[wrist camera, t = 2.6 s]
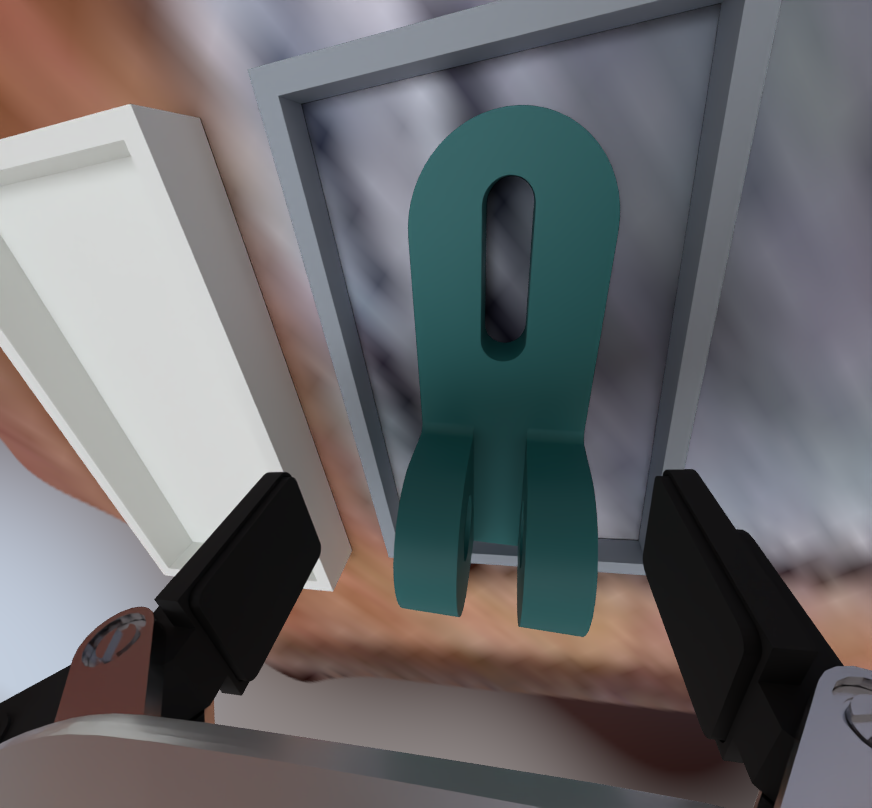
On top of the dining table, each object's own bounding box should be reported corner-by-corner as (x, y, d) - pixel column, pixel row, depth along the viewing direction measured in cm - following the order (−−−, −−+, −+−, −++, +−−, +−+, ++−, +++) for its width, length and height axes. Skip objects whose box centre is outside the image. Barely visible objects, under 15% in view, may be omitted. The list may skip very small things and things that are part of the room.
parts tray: (199, 117, 14) (129, 103, 12) (352, 550, 26) (333, 591, 23) (-29, 174, 17) (-124, 173, 15) (196, 540, 28) (164, 575, 26)
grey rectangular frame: (763, -49, 10) (798, -83, 9) (653, 552, 21) (661, 576, 19) (273, 80, 13) (247, 69, 12) (396, 537, 24) (389, 557, 23)
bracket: (560, 518, 21) (577, 674, 14) (439, 505, 22) (403, 643, 16) (622, 107, 12) (746, 14, 5) (416, 125, 13) (312, 68, 7)
